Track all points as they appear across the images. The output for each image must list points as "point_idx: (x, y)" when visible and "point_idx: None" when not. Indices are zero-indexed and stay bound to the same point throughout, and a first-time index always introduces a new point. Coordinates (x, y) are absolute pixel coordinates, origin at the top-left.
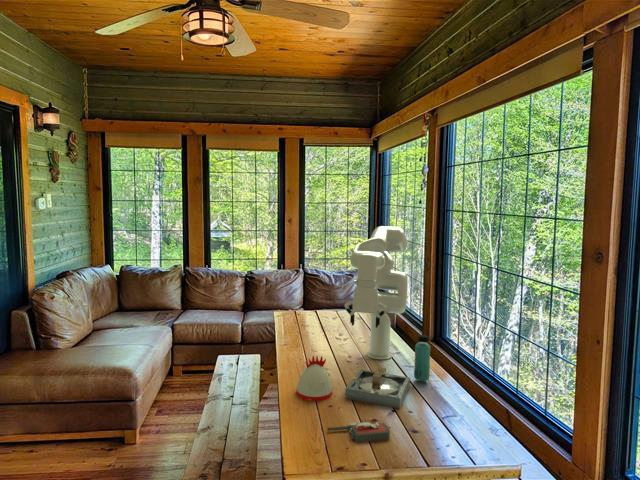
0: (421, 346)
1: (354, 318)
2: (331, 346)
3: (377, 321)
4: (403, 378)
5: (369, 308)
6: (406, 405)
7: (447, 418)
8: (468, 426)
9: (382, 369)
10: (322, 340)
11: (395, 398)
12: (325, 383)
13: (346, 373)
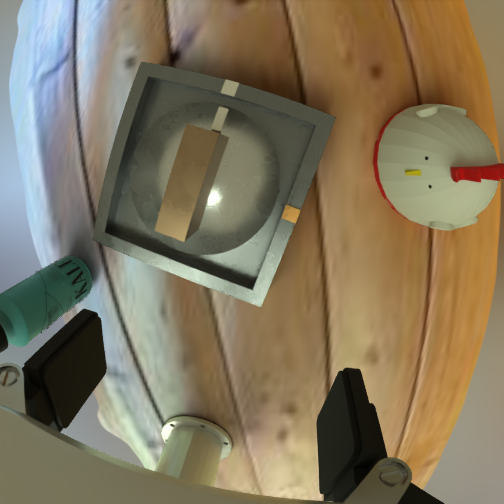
0: (5, 305)
1: (319, 462)
2: None
3: (48, 340)
4: (112, 235)
5: (26, 498)
6: None
7: (59, 57)
8: (37, 40)
9: (169, 216)
10: None
11: (156, 64)
12: (415, 120)
13: (309, 329)
